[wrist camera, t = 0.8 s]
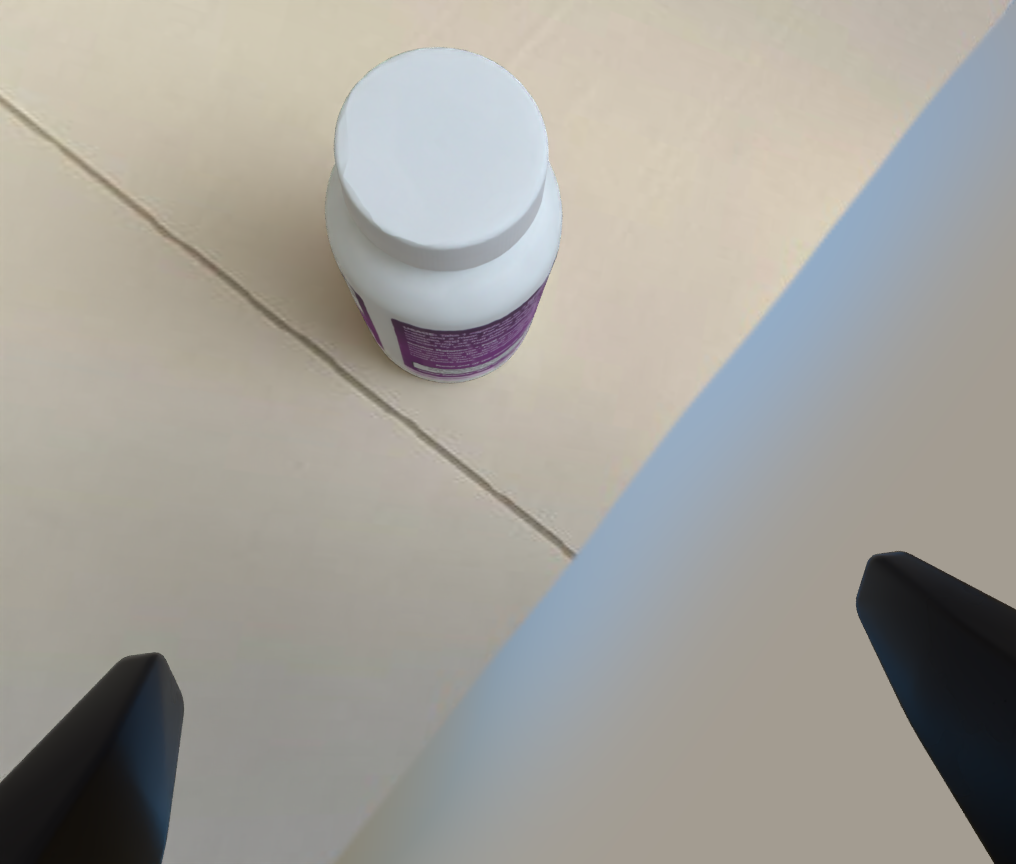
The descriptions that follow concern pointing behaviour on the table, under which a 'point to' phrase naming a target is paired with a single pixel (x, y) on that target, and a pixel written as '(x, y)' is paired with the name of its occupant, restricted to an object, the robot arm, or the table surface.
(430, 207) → the pill bottle
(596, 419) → the table surface
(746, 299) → the table surface
